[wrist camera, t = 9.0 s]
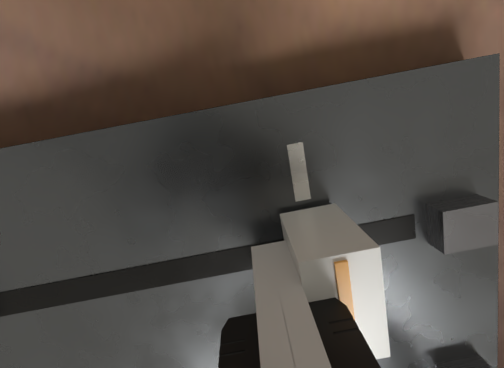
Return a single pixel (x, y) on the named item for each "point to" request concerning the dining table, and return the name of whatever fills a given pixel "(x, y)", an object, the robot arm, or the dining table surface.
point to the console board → (255, 220)
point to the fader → (340, 267)
